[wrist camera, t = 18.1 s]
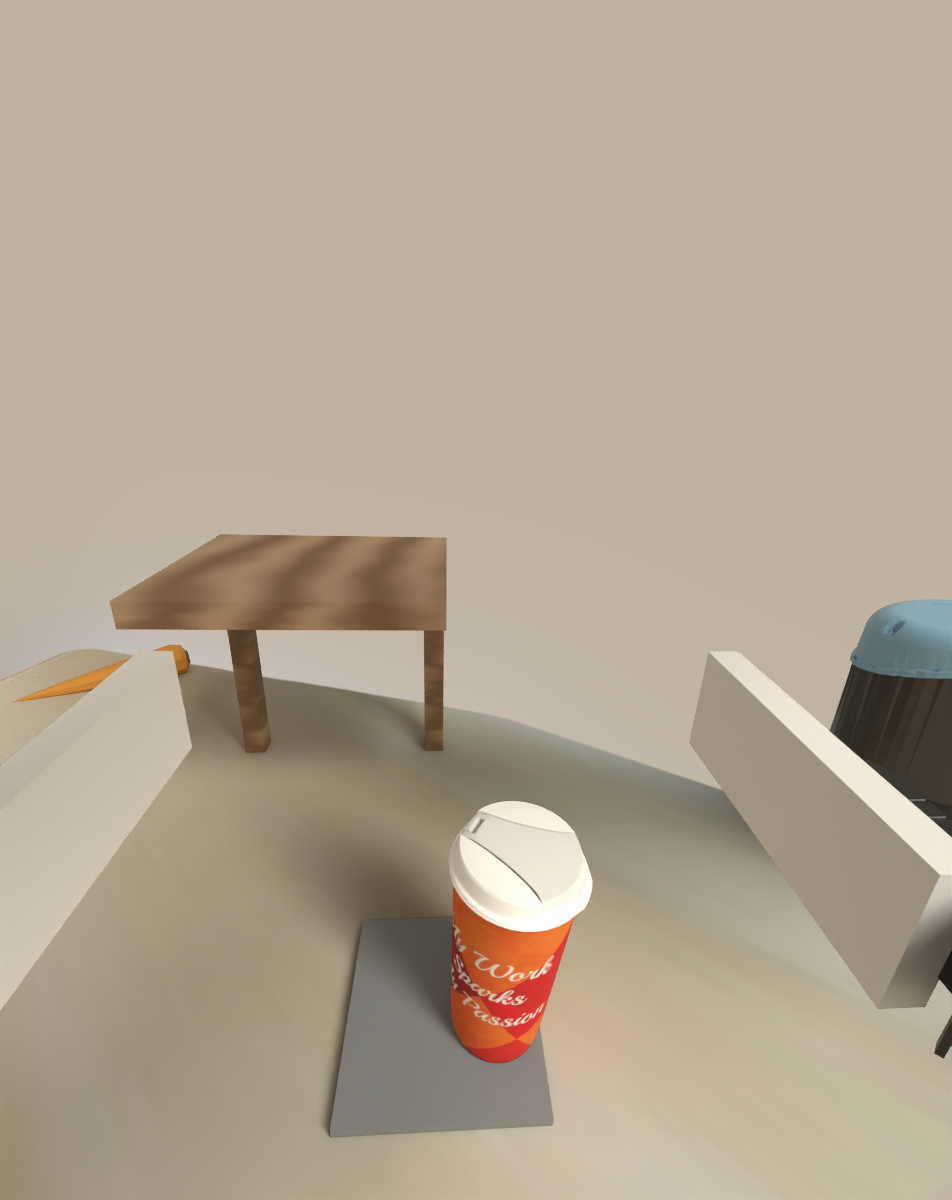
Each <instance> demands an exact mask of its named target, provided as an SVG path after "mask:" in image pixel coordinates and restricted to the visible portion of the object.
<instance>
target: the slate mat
mask: <svg viewBox="0 0 952 1200" xmlns="http://www.w3.org/2000/svg"><path fill="white" fill-rule="evenodd" d="M452 920H453V917H449V918H415V919H381V920H363V924H362V931H361V937H360V943H359V949H358V956H357V962H356V968H355V974H354V981H353V987H352V993H351V1000H350V1006H349V1012H348V1018H347V1025H346V1031H345V1037H344V1044H343V1050H342V1056H341V1062H340V1069H339V1075H338V1081H337V1088H336V1094H335V1100H334V1106H333V1113H332V1119H331V1125H330V1137H345V1136H364V1135H382V1134H401V1133H420V1132H438V1131H457V1130H475V1129H494V1128H513V1127H531V1126H550V1125H553V1113H552V1106H551V1099H550V1093H549V1086H548V1079H547V1073H546V1066H545V1059H544V1052H543V1046H542V1039H541V1032H540V1025H539V1028H538V1031H537V1033H536V1036H535V1038H534V1040H533V1042H532V1044H531V1045H530V1047H529V1048H528V1049H527V1051H526V1052H525V1053H524V1054H522V1055H521V1056H520V1057H518V1058H517V1059H515V1060H513V1061H510V1062H506V1063H490V1062H486V1061H484V1060H481V1059H479V1058H477V1057H476V1056H474V1055H473V1054H472V1053H470V1052H469V1051H468V1050H467V1049H466V1048H465V1047H464V1045H463V1044H462V1043H461V1041H460V1040H459V1038H458V1036H457V1034H456V1031H455V1029H454V1025H453V1021H452V1014H451V959H452Z"/></svg>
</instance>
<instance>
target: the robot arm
mask: <svg viewBox="0 0 952 1200" xmlns="http://www.w3.org/2000/svg"><path fill="white" fill-rule="evenodd" d="M850 660H851V661H852V665H851V668H850V672H849V675H848V678H847V681H846V684H845V687H844V690H843V693H842V696H841V699H840V702H839V705H838V708H837V711H836V714H835V717H834V720H833V723H832V725H831V729H830V731H829V730H828V729H826V728H825V727H824V726H823V725H822V724H821V723H819V722H818V721H817V720H816V719H815V718H814V717H812V716H811V715H810V714H809V713H808V712H807V711H806V710H804V709H803V708H802V707H801V706H800V705H799V704H798V703H796V702H795V701H794V700H793V699H792V698H791V697H790V696H788V695H787V694H786V693H785V692H784V691H783V690H781V689H780V688H779V687H778V686H777V685H776V684H775V683H773V682H772V681H771V680H770V679H769V678H768V677H766V676H765V675H764V674H763V673H762V672H761V671H760V670H758V669H757V668H756V667H755V666H754V665H753V664H752V663H750V662H749V661H748V660H747V659H746V658H744V657H743V656H742V655H741V654H740V653H739V652H709V653H708V658H707V662H706V667H705V672H704V676H703V681H702V686H701V691H700V696H699V700H698V705H697V710H696V714H695V720H694V724H693V729H692V733H691V738H690V744H691V745H692V747H693V748H694V750H695V751H696V752H697V754H698V755H699V757H700V758H701V760H702V761H703V762H704V764H705V765H706V766H707V768H708V769H709V771H710V772H711V774H712V775H713V777H714V778H715V779H716V781H717V782H718V784H719V785H720V786H721V788H722V789H723V791H724V792H725V794H726V795H727V796H728V798H729V799H730V801H731V802H732V803H733V805H734V806H735V808H736V809H737V810H738V812H739V813H740V815H741V816H742V818H743V819H744V820H745V822H746V823H747V825H748V826H749V827H750V829H751V830H752V832H753V833H754V835H755V836H756V837H757V839H758V840H759V842H760V843H761V844H762V846H763V847H764V849H765V850H766V852H767V853H768V854H769V856H770V857H771V859H772V860H773V861H774V863H775V864H776V866H777V867H778V868H779V870H780V871H781V873H782V874H783V876H784V877H785V878H786V880H787V881H788V883H789V884H790V885H791V887H792V888H793V890H794V891H795V893H796V894H797V895H798V897H799V898H800V900H801V901H802V902H803V904H804V905H805V907H806V908H807V910H808V911H809V912H810V914H811V915H812V917H813V918H814V919H815V921H816V922H817V924H818V925H819V926H820V928H821V929H822V931H823V932H824V934H825V935H826V936H827V938H828V939H829V941H830V942H831V943H832V945H833V946H834V948H835V949H836V951H837V952H838V953H839V955H840V956H841V958H842V959H843V960H844V962H845V963H846V965H847V966H848V968H849V969H850V970H851V972H852V973H853V975H854V976H855V977H856V979H857V980H858V982H859V983H860V984H861V986H862V987H863V989H864V990H865V992H866V993H867V994H868V996H869V997H870V999H871V1000H872V1001H873V1003H874V1004H875V1006H876V1007H877V1009H886V1008H910V1007H925V1006H926V1004H927V1002H928V1000H929V998H930V996H931V994H932V992H933V990H934V989H935V987H936V985H937V983H938V981H939V979H940V981H941V982H942V983H943V984H944V985H945V986H946V988H947V989H948V990H949V991H950V992H951V993H952V600H912V601H904V602H899V603H894V604H891V605H888V606H885V607H883V608H881V609H879V610H878V611H876V612H875V613H874V614H873V615H872V616H871V617H870V618H869V620H868V621H867V623H866V626H865V628H864V631H863V633H862V636H861V638H860V641H859V643H858V646H857V647H856V648H855V649H854V651H853V652H852V654H851V658H850ZM191 748H192V744H191V739H190V734H189V729H188V724H187V719H186V714H185V709H184V704H183V699H182V694H181V689H180V684H179V679H178V674H177V669H176V664H175V660H174V655H173V651H139V652H138V653H136V654H135V655H134V656H133V657H131V658H130V659H129V660H128V661H127V662H125V663H124V664H123V665H122V666H120V667H119V668H118V669H117V670H116V671H114V672H113V673H112V674H111V675H110V676H108V677H107V678H106V679H105V680H103V681H102V682H101V683H100V684H99V685H97V686H96V687H95V688H94V689H93V690H91V691H90V692H89V693H88V694H86V695H85V696H84V697H83V698H82V699H80V700H79V701H78V702H77V703H76V704H74V705H73V706H72V707H71V708H69V709H68V710H67V711H66V712H65V713H63V714H62V715H61V716H60V717H59V718H57V719H56V720H55V721H54V722H52V723H51V724H50V725H49V726H48V727H46V728H45V729H44V730H43V731H42V732H40V733H39V734H38V735H37V736H35V737H34V738H33V739H32V740H31V741H29V742H28V743H27V744H26V745H25V746H23V747H22V748H21V749H20V750H18V751H17V752H16V753H15V754H14V755H12V756H11V757H10V758H9V759H7V760H6V761H5V762H4V763H3V764H1V765H0V1011H1V1009H2V1008H3V1006H4V1005H5V1004H6V1002H7V1001H8V1000H9V998H10V997H11V995H12V994H13V993H14V991H15V990H16V989H17V987H18V986H19V984H20V983H21V982H22V980H23V979H24V978H25V976H26V975H27V973H28V972H29V971H30V969H31V968H32V967H33V965H34V964H35V962H36V961H37V960H38V958H39V957H40V956H41V954H42V953H43V951H44V950H45V949H46V947H47V946H48V945H49V943H50V942H51V940H52V939H53V938H54V936H55V935H56V934H57V932H58V931H59V930H60V928H61V927H62V925H63V924H64V923H65V921H66V920H67V919H68V917H69V916H70V914H71V913H72V912H73V910H74V909H75V908H76V906H77V905H78V903H79V902H80V901H81V899H82V898H83V897H84V895H85V894H86V892H87V891H88V890H89V888H90V887H91V886H92V884H93V883H94V881H95V880H96V879H97V877H98V876H99V875H100V873H101V872H102V870H103V869H104V868H105V866H106V865H107V864H108V862H109V861H110V859H111V858H112V857H113V855H114V854H115V853H116V851H117V850H118V848H119V847H120V846H121V844H122V843H123V842H124V840H125V839H126V837H127V836H128V835H129V833H130V832H131V831H132V829H133V828H134V827H135V825H136V824H137V822H138V821H139V820H140V818H141V817H142V816H143V814H144V813H145V811H146V810H147V809H148V807H149V806H150V805H151V803H152V802H153V800H154V799H155V798H156V796H157V795H158V794H159V792H160V791H161V789H162V788H163V787H164V785H165V784H166V783H167V781H168V780H169V778H170V777H171V776H172V774H173V773H174V772H175V770H176V769H177V767H178V766H179V765H180V763H181V762H182V761H183V759H184V758H185V756H186V755H187V754H188V752H189V751H190V750H191ZM950 1046H952V1016H951V1017H950V1019H949V1021H948V1023H947V1025H946V1026H945V1028H944V1030H943V1032H942V1034H941V1035H940V1037H939V1039H938V1041H937V1044H936V1048H935V1052H934V1053H935V1054H936V1055H938V1056H940V1057H942V1058H944V1057H945V1055H946V1053H947V1052H948V1050H949V1048H950Z"/></svg>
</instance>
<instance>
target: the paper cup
mask: <svg viewBox="0 0 952 1200" xmlns="http://www.w3.org/2000/svg"><path fill="white" fill-rule="evenodd" d="M449 872H450V877H451V880H452V883H453V920H452V959H451V1014H452V1021H453V1025H454V1029H455V1031H456V1034H457V1036H458V1038H459V1040H460V1041H461V1043H462V1044H463V1045H464V1047H465V1048H466V1049H467V1050H468V1051H469V1052H470V1053H472V1054H473V1055H474V1056H476V1057H477V1058H479V1059H481V1060H484V1061H486V1062H490V1063H506V1062H510V1061H513V1060H515V1059H517V1058H518V1057H520V1056H521V1055H522V1054H524V1053H525V1052H526V1051H527V1049H528V1048H529V1047H530V1045H531V1044H532V1042H533V1040H534V1038H535V1036H536V1033H537V1031H538V1028H539V1025H540V1022H541V1020H542V1017H543V1014H544V1011H545V1008H546V1005H547V1001H548V998H549V995H550V992H551V989H552V986H553V983H554V980H555V977H556V973H557V970H558V967H559V964H560V961H561V958H562V954H563V951H564V948H565V945H566V942H567V938H568V935H569V932H570V929H571V926H572V922H573V919H574V916H575V915H576V914H578V913H579V912H580V911H582V910H583V909H585V907H586V905H587V903H588V901H589V899H590V895H591V891H592V877H591V874H590V872H589V869H588V865H587V862H586V859H585V857H584V855H583V853H582V850H581V847H580V844H579V841H578V839H577V837H576V834H575V833H574V831H573V830H572V828H571V827H570V826H569V825H568V824H567V823H566V822H565V821H564V820H563V819H561V818H560V817H559V816H557V815H556V814H554V813H553V812H551V811H549V810H547V809H545V808H543V807H540V806H538V805H535V804H531V803H527V802H520V801H504V802H498V803H493V804H490V805H488V806H485V807H483V808H481V809H480V810H478V812H477V815H476V816H473V817H472V819H471V820H470V821H469V822H468V823H467V824H466V825H465V826H464V827H463V828H462V829H461V830H460V831H459V833H458V834H457V835H456V837H455V839H454V840H453V843H452V845H451V848H450V853H449Z"/></svg>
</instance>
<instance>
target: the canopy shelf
mask: <svg viewBox="0 0 952 1200" xmlns="http://www.w3.org/2000/svg"><path fill="white" fill-rule="evenodd" d="M110 605H111V609H112V613H113V617H114V621H115V625H116V629H184V630H187V629H188V630H191V629H192V630H193V629H194V630H198V629H199V630H200V629H201V630H227V631H228V637H229V643H230V650H231V656H232V662H233V669H234V675H235V682H236V688H237V695H238V701H239V707H240V714H241V720H242V726H243V733H244V739H245V746H246V752H265V751H266V749H267V747H268V745H269V743H270V742H271V739H270V732H269V724H268V717H267V709H266V702H265V695H264V687H263V680H262V673H261V665H260V658H259V650H258V643H257V636H256V630H424V682H425V750H443V655H444V654H443V653H444V649H443V648H444V647H443V646H444V644H443V643H444V630H446V538H427V537H426V538H424V537H357V536H355V537H354V536H290V535H289V536H288V535H219V536H217V537H216V538H214V539H212V540H211V541H209V542H207V543H206V544H204V545H203V546H201V547H199V548H198V549H196V550H194V551H192V552H191V553H189V554H188V555H186V556H184V557H182V558H181V559H179V560H177V561H176V562H174V563H172V564H171V565H169V566H168V567H166V568H164V569H163V570H161V571H159V572H158V573H156V574H154V575H153V576H151V577H149V578H148V579H146V580H144V581H143V582H141V583H139V584H138V585H136V586H134V587H133V588H131V589H129V590H128V591H126V592H124V593H123V594H121V595H119V596H118V597H116V598H114V599H113V600H111V601H110Z"/></svg>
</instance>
